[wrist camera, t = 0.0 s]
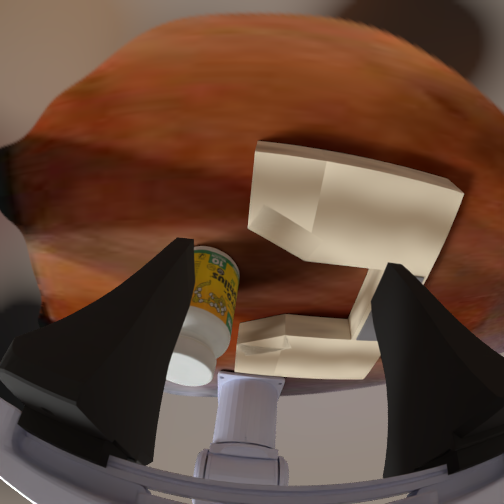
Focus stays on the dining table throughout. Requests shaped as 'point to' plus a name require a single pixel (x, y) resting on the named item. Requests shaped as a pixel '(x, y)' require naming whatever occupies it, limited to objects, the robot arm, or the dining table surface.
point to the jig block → (339, 249)
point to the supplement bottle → (206, 318)
